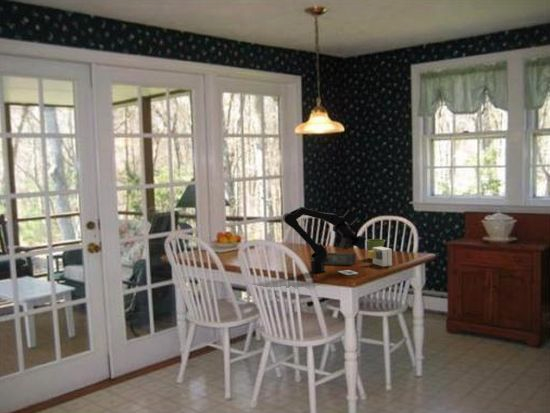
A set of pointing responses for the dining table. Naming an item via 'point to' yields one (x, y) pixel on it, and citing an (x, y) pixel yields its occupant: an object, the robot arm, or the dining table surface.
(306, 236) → the robot arm
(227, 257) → the dining table surface
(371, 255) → the amber button
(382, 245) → the plant pot
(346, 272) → the card
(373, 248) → the console
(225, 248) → the dining table surface
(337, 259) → the beverage carton
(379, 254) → the charcoal button
